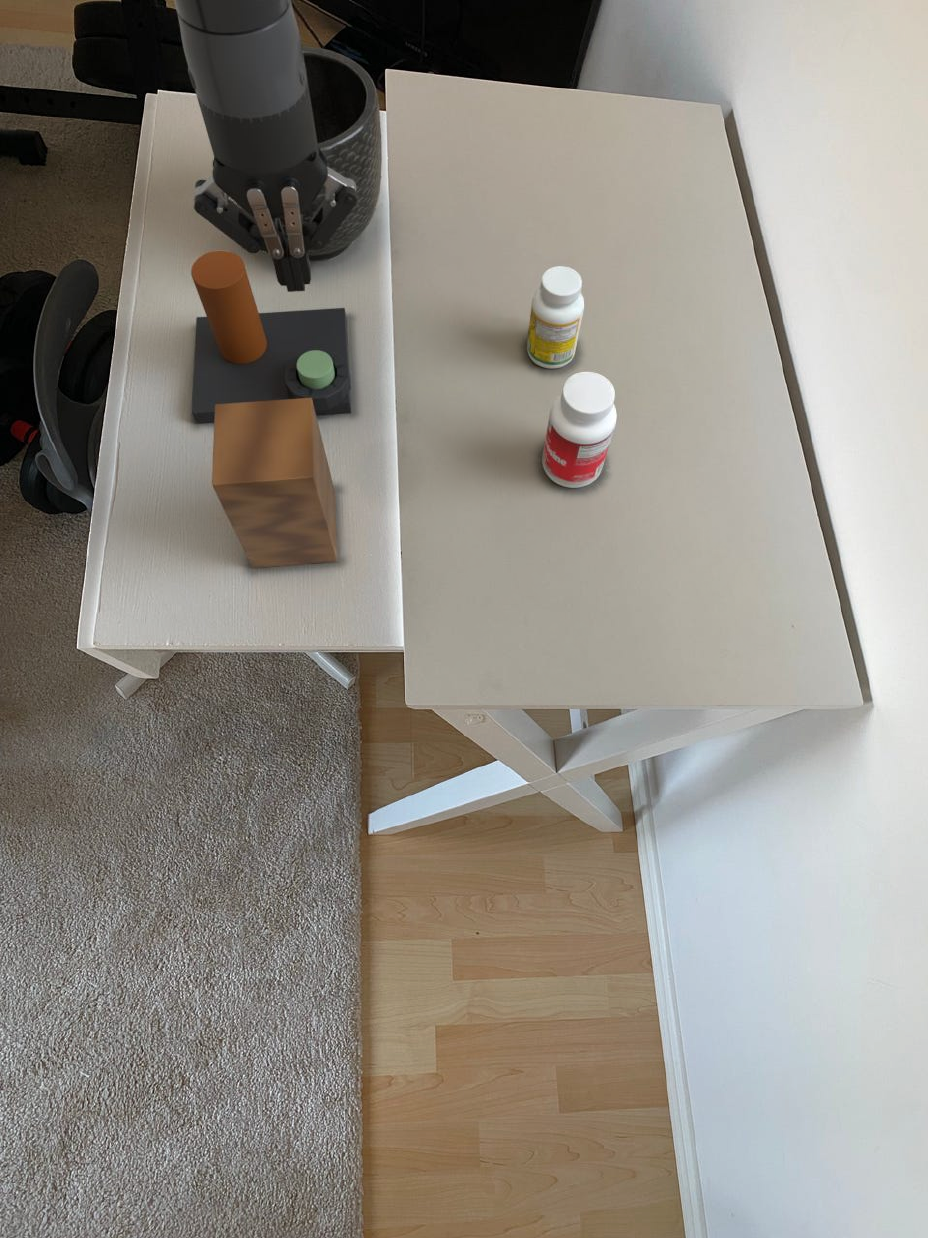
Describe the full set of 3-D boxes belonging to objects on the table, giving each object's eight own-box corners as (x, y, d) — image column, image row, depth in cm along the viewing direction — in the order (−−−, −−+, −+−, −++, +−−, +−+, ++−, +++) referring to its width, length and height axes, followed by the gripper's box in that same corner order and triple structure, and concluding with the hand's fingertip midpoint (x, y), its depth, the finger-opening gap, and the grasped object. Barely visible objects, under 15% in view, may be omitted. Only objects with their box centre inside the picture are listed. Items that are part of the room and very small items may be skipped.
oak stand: (252, 568, 75) (211, 485, 62) (253, 497, 78) (214, 403, 65) (337, 561, 75) (313, 477, 62) (334, 491, 78) (311, 397, 65)
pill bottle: (534, 446, 81) (545, 370, 71) (591, 434, 81) (610, 358, 71) (551, 495, 78) (566, 425, 68) (610, 483, 79) (633, 412, 69)
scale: (195, 429, 81) (185, 407, 78) (200, 328, 87) (191, 303, 83) (353, 418, 82) (349, 396, 79) (348, 318, 87) (344, 294, 84)
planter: (363, 301, 89) (346, 169, 74) (220, 271, 90) (175, 135, 76) (407, 199, 95) (399, 60, 81) (274, 173, 97) (242, 31, 82)
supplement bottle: (562, 377, 84) (575, 308, 76) (517, 358, 85) (525, 288, 77) (583, 343, 86) (597, 272, 78) (539, 325, 87) (548, 253, 79)
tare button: (299, 390, 79) (296, 378, 78) (299, 363, 81) (296, 350, 79) (335, 388, 80) (333, 376, 78) (334, 360, 81) (332, 348, 79)
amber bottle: (218, 365, 82) (189, 290, 73) (220, 329, 84) (192, 251, 75) (267, 362, 83) (243, 286, 74) (267, 326, 85) (244, 248, 76)
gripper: (347, 39, 55) (370, 249, 70) (153, 47, 54) (220, 258, 70) (351, 108, 52) (374, 312, 67) (146, 118, 51) (218, 321, 67)
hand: (296, 284), depth 68 cm, fingers closed
